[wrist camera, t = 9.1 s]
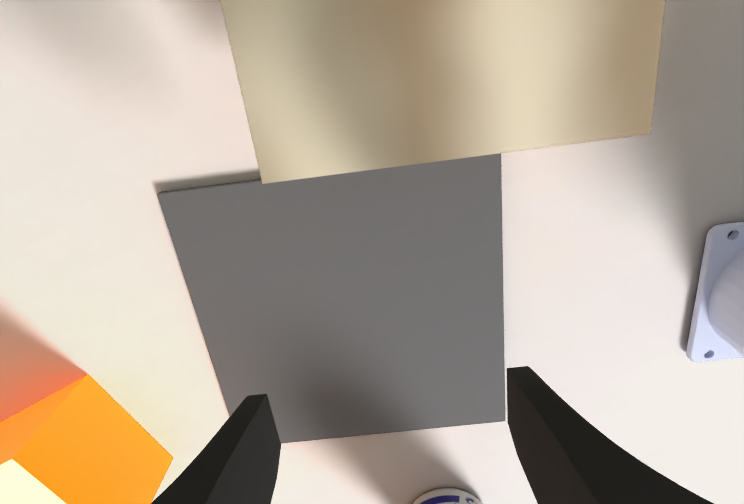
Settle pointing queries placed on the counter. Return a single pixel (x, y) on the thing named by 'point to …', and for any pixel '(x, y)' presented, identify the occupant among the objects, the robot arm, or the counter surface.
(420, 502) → the energy drink
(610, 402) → the counter surface
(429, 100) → the lid
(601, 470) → the robot arm
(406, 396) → the mat
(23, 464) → the orange juice
